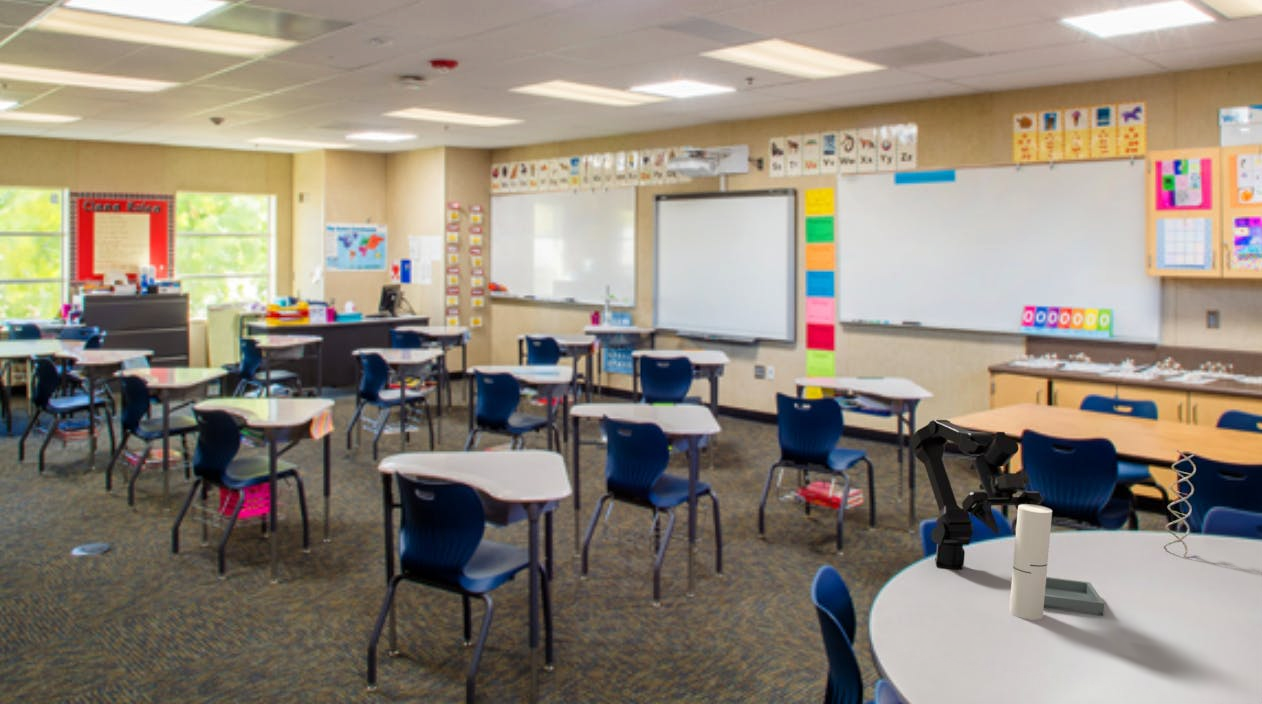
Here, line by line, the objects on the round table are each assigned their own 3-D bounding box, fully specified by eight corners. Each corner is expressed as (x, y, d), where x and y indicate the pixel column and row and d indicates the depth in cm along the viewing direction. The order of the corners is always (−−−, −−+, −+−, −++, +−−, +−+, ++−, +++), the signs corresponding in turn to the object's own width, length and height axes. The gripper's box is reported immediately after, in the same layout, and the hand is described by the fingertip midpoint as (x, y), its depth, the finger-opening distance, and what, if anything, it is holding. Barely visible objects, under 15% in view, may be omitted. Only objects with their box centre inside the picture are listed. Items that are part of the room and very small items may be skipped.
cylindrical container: (1046, 621, 202) (1055, 514, 199) (1012, 617, 203) (1022, 511, 201) (1038, 609, 209) (1047, 505, 206) (1006, 606, 210) (1015, 503, 208)
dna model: (1156, 550, 260) (1166, 449, 257) (1173, 549, 262) (1183, 449, 259) (1176, 557, 254) (1187, 454, 251) (1193, 556, 256) (1204, 454, 253)
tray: (1033, 606, 211) (1034, 594, 210) (1023, 585, 225) (1024, 574, 225) (1103, 615, 207) (1104, 603, 206) (1088, 593, 221) (1090, 582, 221)
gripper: (972, 459, 212) (995, 517, 203) (1041, 459, 216) (1068, 516, 206) (952, 483, 221) (973, 540, 211) (1019, 482, 224) (1043, 538, 215)
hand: (1015, 533), depth 211 cm, fingers open, 9 cm apart
